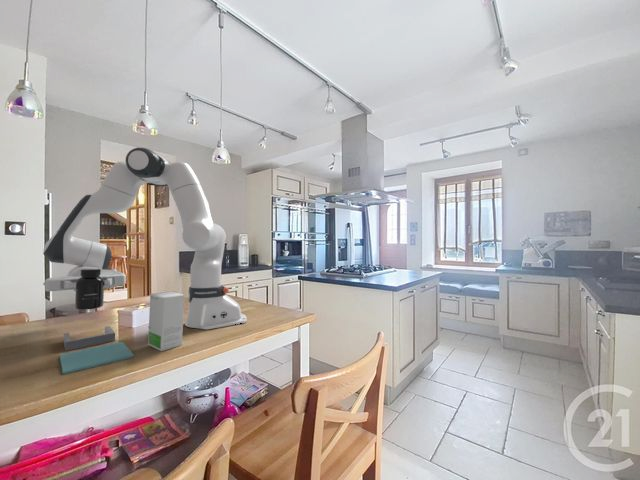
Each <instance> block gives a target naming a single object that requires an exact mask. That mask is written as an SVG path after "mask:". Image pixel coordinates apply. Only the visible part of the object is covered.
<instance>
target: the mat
mask: <svg viewBox="0 0 640 480" xmlns="http://www.w3.org/2000/svg"><path fill="white" fill-rule="evenodd" d="M134 356H135V354H134V353H133V352H132V351H131V350H130V348H129V347H128V346H127V344H125V342H124V341H119V342H114V343H109V344H105V345H104V344H103V345H100V346H95V347H90V348H86V349H85V348H84V349H79V350H76V351H71V352H66V353H61V354H59V362H60V366H61V373H62V375H66V374H71V373H75V372H78V371H82V370H83V371H84V370H87V369H91V368H94V367H95V368H96V367H99V366H104V365H106V364H111V363H116V362H120V361H123V360H127V359H133V358H134Z"/></svg>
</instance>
